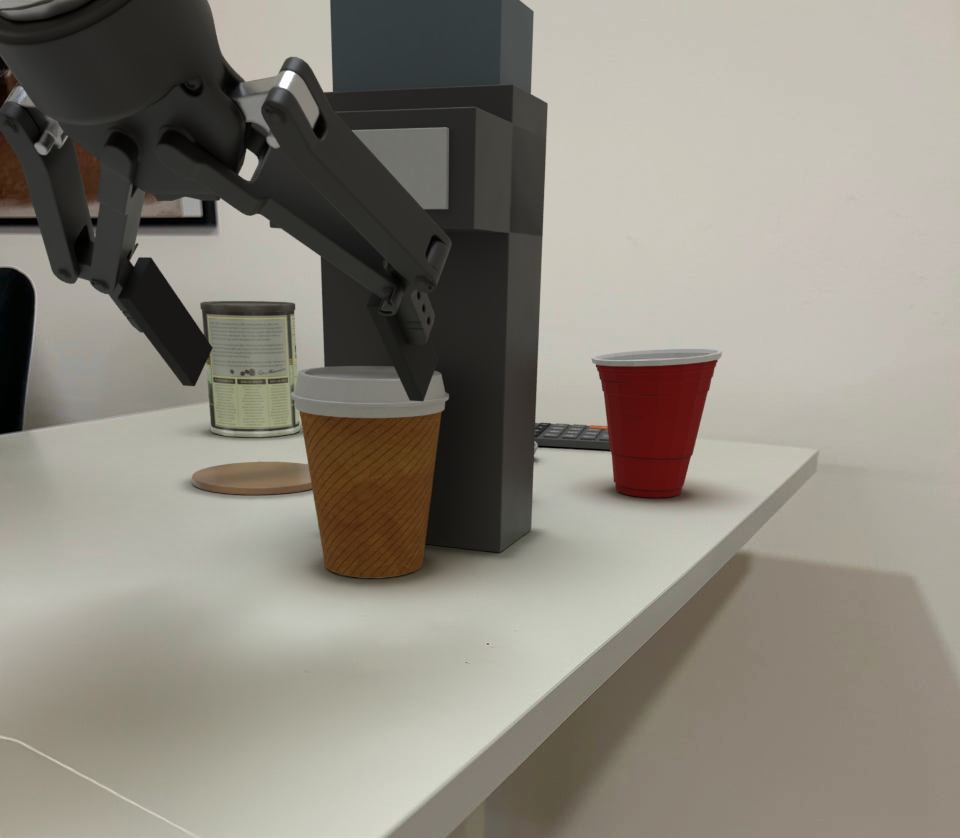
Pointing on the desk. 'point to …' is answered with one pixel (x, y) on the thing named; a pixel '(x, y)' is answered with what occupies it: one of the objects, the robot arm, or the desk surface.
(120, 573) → the desk surface
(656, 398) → the plastic cup
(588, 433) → the calculator
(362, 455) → the disposable coffee cup
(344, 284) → the coffee maker
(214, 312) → the coffee can
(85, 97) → the robot arm
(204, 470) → the coaster
